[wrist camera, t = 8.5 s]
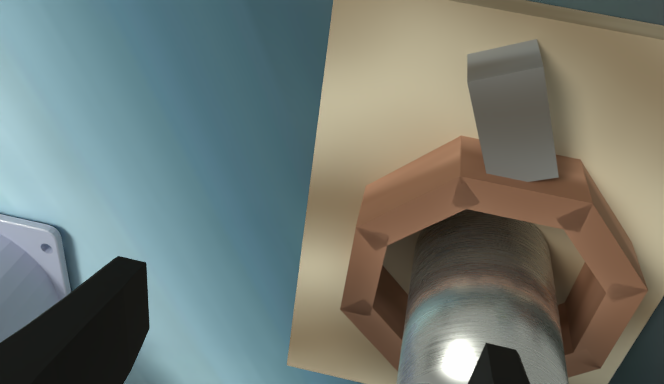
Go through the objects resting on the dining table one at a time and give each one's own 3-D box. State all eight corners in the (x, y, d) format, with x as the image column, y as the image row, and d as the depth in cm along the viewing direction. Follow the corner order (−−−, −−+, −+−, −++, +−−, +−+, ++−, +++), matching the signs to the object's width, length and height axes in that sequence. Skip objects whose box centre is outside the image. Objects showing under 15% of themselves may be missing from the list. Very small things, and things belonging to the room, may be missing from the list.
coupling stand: (572, 407, 26) (585, 485, 23) (293, 343, 26) (273, 410, 24) (788, 48, 16) (854, 107, 13) (343, -34, 17) (319, 6, 14)
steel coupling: (575, 232, 19) (615, 423, 14) (514, 321, 22) (526, 513, 16) (441, 187, 19) (426, 359, 14) (397, 282, 22) (368, 459, 16)
